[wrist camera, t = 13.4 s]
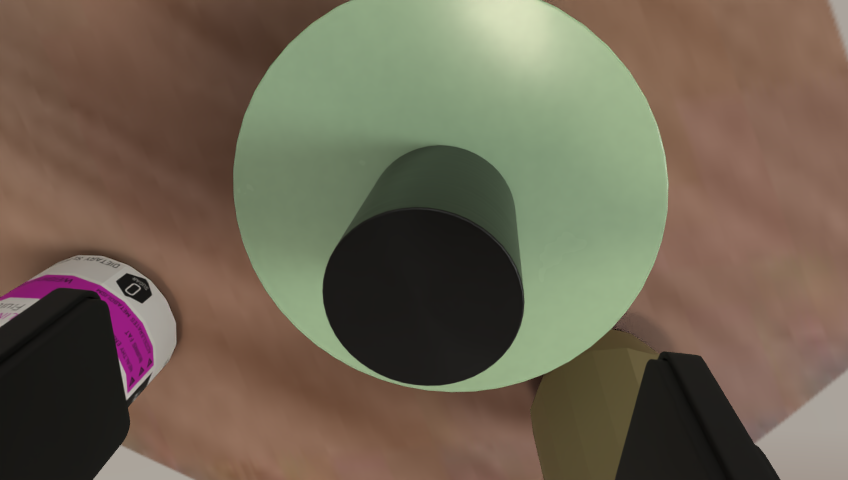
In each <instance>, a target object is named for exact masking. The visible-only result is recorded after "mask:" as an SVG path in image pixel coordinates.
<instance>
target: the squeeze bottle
mask: <svg viewBox="0 0 848 480" xmlns="http://www.w3.org/2000/svg"><path fill="white" fill-rule="evenodd" d="M659 355H660V354H658V353H657V352H656V351H654V350H653V349H652V348H650V347H649V346H648V345H646V344H645V343H643V342H642V341H640V340H639V339H638V338H636V337H635V336H633V335H632V334H630V333H626V332H622V331H618V330H614V329H610V330H609V331H608V332H607V333H606V334H605V335H604V336H603V337H601V338H600V339H599V340H598V341H597V342H596V343H595V344H593V345H592V346H591V347H590V348H588V349H587V350H585V351H584V352H582V353H581V354H580V355H578V356H577V357H575V358H574V359H572V360H571V361H569V362H567V363H565V364H563V365H561V366H559V367H558V368H556V369H554V370H552V371H550V372H548V373H545V374H544V376H543V378H542V380H541V383H540V385H539V388H538V390H537V393H536V396H535V398H534V401H533V404H532V406H531V409H530V412H531V420H532V428H533V435H534V439H535V444H536V448H537V452H538V456H539V461H540V465H541V469H542V474H543V478H544V480H615V476H616V473H617V469H618V465H619V462H620V458H621V454H622V451H623V447H624V443H625V440H626V436H627V432H628V429H629V425H630V421H631V418H632V414H633V410H634V407H635V403H636V399H637V396H638V392H639V388H640V385H641V381H642V377H643V374H644V370H645V367H646V364H647V362H648V360H650V359H658V357H659Z"/></svg>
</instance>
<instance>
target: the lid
mask: <svg viewBox="0 0 848 480" xmlns="http://www.w3.org/2000/svg"><path fill="white" fill-rule="evenodd" d="M233 188H234V202H235V209H236V216H237V222H238V226H239V229H240V233H241V237H242V240H243V244H244V247H245V249H246V252H247V254H248V257H249V259H250V261H251V264H252V266H253V269H254V270H255V272H256V274H257V276H258V278H259V279H260V281H261V283H262V285H263V286H264V288H265V290H266V291H267V293H268V294H269V296H270V297H271V298H272V300H273V301H274V302H275V304H276V305H277V306H278V308H279V309H280V311H281V312H282V313H283V314H284V315H285V316H286V317H287V318H288V319H289V320H290V321H291V322H292V324H293V325H294V326H295V327H296V328H297V329H298V330H299V331H301V332H302V333H303V334H304V335H305V336H306V337H308V338H309V339H310V340H311V341H312V342H313V343H314V344H316V345H317V346H319V347H320V348H321V349H323V350H324V351H326V352H327V353H329V354H330V355H332V356H333V357H334V358H336V359H338V360H340V361H342V362H343V363H345V364H347V365H349V366H351V367H353V368H354V369H356V370H359V371H361V372H363V373H366V374H368V375H371V376H373V377H376V378H378V379H381V380H384V381H388V382H391V383H394V384H398V385H401V386H406V387H411V388H417V389H422V390H430V391H443V392H469V391H481V390H488V389H495V388H501V387H505V386H509V385H513V384H517V383H521V382H524V381H527V380H530V379H532V378H535V377H538V376H540V375H543V374H545V373H548V372H550V371H552V370H554V369H556V368H558V367H559V366H561V365H563V364H565V363H567V362H569V361H571V360H572V359H574V358H575V357H577V356H578V355H580V354H581V353H582V352H584V351H585V350H587V349H588V348H590V347H591V346H592V345H593V344H595V343H596V342H597V341H598V340H599V339H600V338H601V337H603V336H604V335H605V334H606V333H607V332H608V331H609V330H610V329H611V328H612V327H613V326H614V325H615V324H616V323H617V321H618V320H619V319H620V318H621V317H622V316H623V315H624V314H625V312H626V311H627V310H628V308H629V307H630V306H631V304H632V303H633V301H634V300H635V298H636V297H637V295H638V294H639V292H640V291H641V289H642V287H643V285H644V283H645V281H646V279H647V277H648V275H649V273H650V271H651V269H652V267H653V265H654V262H655V259H656V256H657V253H658V250H659V247H660V244H661V241H662V238H663V233H664V227H665V222H666V216H667V208H668V175H667V165H666V156H665V151H664V148H663V144H662V140H661V136H660V132H659V128H658V125H657V123H656V120H655V118H654V116H653V113H652V111H651V109H650V106H649V104H648V102H647V99H646V97H645V96H644V94H643V92H642V91H641V89H640V88H639V86H638V84H637V83H636V81H635V79H634V78H633V76H632V75H631V73H630V71H629V70H628V69H627V68H626V67H625V65H624V64H623V63H622V62H621V61H620V59H619V58H618V57H617V56H616V55H615V53H614V52H613V51H612V50H611V49H610V47H609V46H607V45H606V44H605V43H604V42H603V41H602V40H601V39H599V38H598V37H597V36H596V35H595V34H594V33H593V32H592V31H590V30H589V29H588V28H587V27H586V26H585V25H583V24H582V23H580V22H579V21H577V20H576V19H574V18H573V17H571V16H569V15H568V14H566V13H565V12H563V11H562V10H560V9H559V8H557V7H555V6H553V5H551V4H549V3H546V2H544V1H542V0H350V1H348V2H346V3H344V4H342V5H340V6H337V7H336V8H334V9H333V10H331V11H330V12H328V13H327V14H325V15H324V16H322V17H321V18H319V19H318V20H316V21H314V22H313V23H311V24H310V25H309V26H308V27H307V28H306V29H305V30H304V31H302V32H301V33H300V34H299V35H298V36H297V37H296V38H295V39H293V40H292V41H291V42H290V43H289V44H288V45H287V46H286V48H285V49H284V50H283V51H282V52H281V54H280V55H279V56H278V57H277V58H276V60H275V61H274V62H273V63H272V64H271V66H270V67H269V69H268V70H267V72H266V73H265V75H264V77H263V78H262V80H261V82H260V83H259V85H258V86H257V88H256V90H255V92H254V94H253V96H252V99H251V101H250V103H249V106H248V108H247V110H246V112H245V115H244V118H243V121H242V125H241V129H240V132H239V136H238V140H237V145H236V152H235V160H234V168H233Z"/></svg>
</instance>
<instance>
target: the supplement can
mask: <svg viewBox="0 0 848 480" xmlns="http://www.w3.org/2000/svg"><path fill="white" fill-rule="evenodd" d="M57 288H73V289H83V290H92V291H95V292H97V293H98V295H99V296H100V298H101V300H104V301H105V302H106V303H107V304H108V307H109V311H110V316H111V321H112V327H113V332H114V337H115V343H116V348H117V353H118V359H119V364H120V369H121V375H122V380H123V385H124V391H125V396H126V401H127V406H128V407H129V406H130V404H131V403H132V402H133V401H134V400H135V399H136V398H137V397H138V395H139V394H140V393H141V392H142V391H143V390H144V389H145V388H146V386H147V385H148V384H149V383H150V382H151V381H152V380H153V379H154V377H155V376H156V375H157V374H158V373H159V372H160V371H161V370H162V368H163V367H164V366H165V365H166V364H167V363H168V362H169V360H170V358H171V355H172V353H173V351H174V349H175V346H176V344H177V343H176V322H175V319H174V317H173V314H172V312H171V310H170V307H169V305H168V302H167V300H166V299H165V297H164V296H163V295H162V293H161V292H160V291H159V290H158V289H157V287H156V286H155V285H154V284H153V283H152V281H151V280H149V279H148V278H146V277H145V276H144V275H142V274H141V273H139V272H138V271H137V270H135V269H134V268H132V267H130V266H129V265H127V264H124V263H121V262H118V261H116V260H113V259H110V258H107V257H104V256H91V255H77V256H74V257H71V258H69V259H66V260H63V261H60V262H58V263H56V264H54V265H53V266H51V267H49V268H48V269H46V270H45V271H43V272H41V273H40V274H38V275H36V276H35V277H33V278H31V279H30V280H28V281H27V282H25V283H23V284H22V285H20V286H18V287H17V288H15V289H13V290H12V291H10V292H9V293H7V294H5V295H4V296H2V297H0V327H1V326H2V325H4V324H5V323H7V322H8V321H10V320H11V319H12V318H14V317H15V316H17V315H18V314H20V313H21V312H23V311H24V310H25V309H27V308H28V307H30V306H31V305H33V304H34V303H36V302H37V301H38V300H40V299H41V298H43V297H44V296H46V295H47V294H48V293H50V292H51V291H53V290H55V289H57Z"/></svg>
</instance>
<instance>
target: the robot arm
mask: <svg viewBox="0 0 848 480" xmlns="http://www.w3.org/2000/svg"><path fill="white" fill-rule="evenodd" d="M129 426H130V417H129V412H128V406H127V401H126V396H125V391H124V385H123V380H122V375H121V369H120V364H119V359H118V353H117V348H116V343H115V337H114V332H113V327H112V321H111V316H110V311H109V307H108V304H107V303H106V302H105V301H104V300H101V298H100V296H99V295H98V293H97V292H95V291H92V290H83V289H73V288H57V289H55V290H53V291H51V292H50V293H48V294H47V295H46V296H44V297H43V298H41V299H40V300H38V301H37V302H36V303H34V304H33V305H31V306H30V307H28V308H27V309H25V310H24V311H23V312H21V313H20V314H18V315H17V316H15V317H14V318H12V319H11V320H10V321H8V322H7V323H5V324H4V325H2V326H1V327H0V480H93V478H94V477H95V476H96V475H97V474H98V472H99V471H100V470H101V469H102V467H103V466H104V465H105V464H106V462H107V461H108V460H109V459H110V457H111V456H112V455H113V454H114V452H115V451H116V450H117V449H118V447H119V446H120V445H121V444H122V442H123V441H124V439H125V438H126V436H127V433H128V430H129ZM615 480H780V479H779V477H778V475H777V474H776V472H775V470H774V469H773V467H772V465H771V464H770V462H769V460H768V459H767V457H766V455H765V454H764V453H763V452H762V451H761V449H760V448H759V447H758V446H756V445H755V444H754V443H753V441H752V439H751V438H750V436H749V434H748V433H747V431H746V429H745V428H744V426H743V424H742V423H741V421H740V419H739V418H738V416H737V414H736V413H735V411H734V409H733V408H732V406H731V404H730V403H729V401H728V399H727V398H726V396H725V395H724V393H723V391H722V390H721V388H720V386H719V385H718V383H717V381H716V380H715V378H714V376H713V375H712V373H711V371H710V370H709V368H708V366H707V365H706V363H705V361H704V360H703V359H702V357H701V356H698V355H692V354H683V353H673V352H662V353H661V354H660V355H659V357H658V359H650V360H648V362H647V364H646V367H645V370H644V374H643V377H642V381H641V385H640V388H639V392H638V396H637V399H636V403H635V407H634V410H633V414H632V418H631V421H630V425H629V429H628V432H627V436H626V440H625V443H624V447H623V451H622V454H621V458H620V462H619V465H618V469H617V473H616V476H615Z"/></svg>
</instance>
